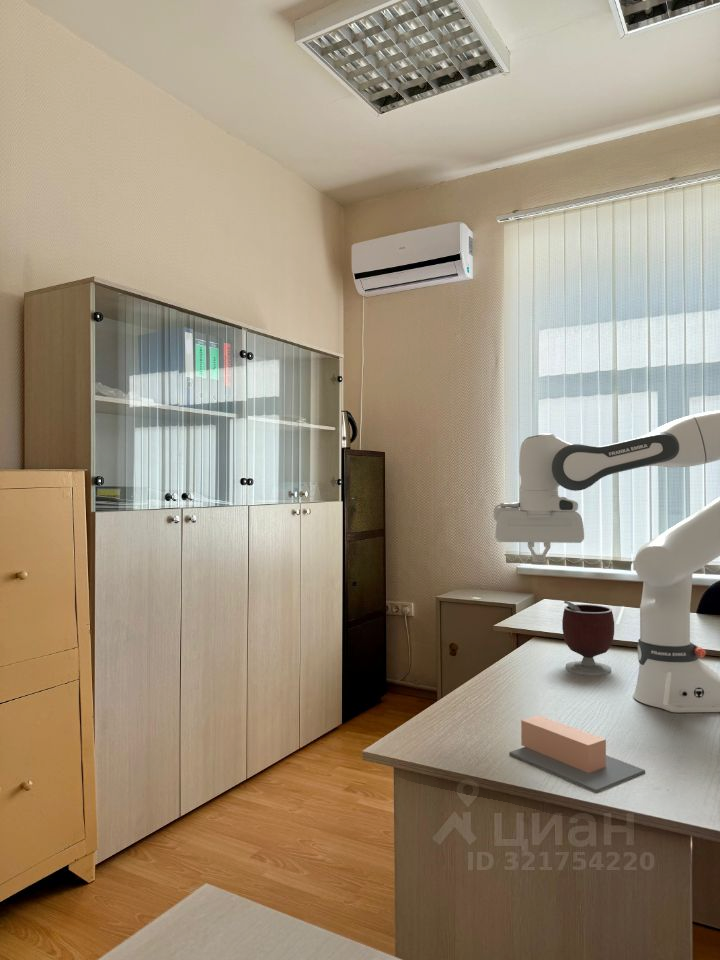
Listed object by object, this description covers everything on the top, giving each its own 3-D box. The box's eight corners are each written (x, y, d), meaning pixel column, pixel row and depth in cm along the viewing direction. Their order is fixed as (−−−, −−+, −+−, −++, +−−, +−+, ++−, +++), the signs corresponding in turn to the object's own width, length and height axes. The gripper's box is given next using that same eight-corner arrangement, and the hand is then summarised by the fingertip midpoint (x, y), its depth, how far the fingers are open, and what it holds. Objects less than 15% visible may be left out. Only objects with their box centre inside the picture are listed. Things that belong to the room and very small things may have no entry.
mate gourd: (588, 660, 204) (587, 592, 204) (625, 671, 191) (625, 599, 191) (547, 667, 197) (547, 596, 197) (584, 679, 184) (583, 604, 184)
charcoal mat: (509, 754, 134) (509, 752, 134) (557, 739, 142) (557, 736, 142) (596, 792, 118) (596, 789, 118) (645, 772, 126) (645, 769, 126)
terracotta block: (521, 720, 138) (588, 745, 124) (538, 715, 140) (605, 739, 127) (521, 745, 138) (588, 773, 124) (538, 739, 140) (605, 766, 127)
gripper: (493, 503, 161) (494, 562, 161) (585, 503, 157) (585, 564, 157) (493, 502, 167) (493, 559, 167) (581, 502, 164) (581, 560, 164)
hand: (539, 561), depth 162 cm, fingers closed
